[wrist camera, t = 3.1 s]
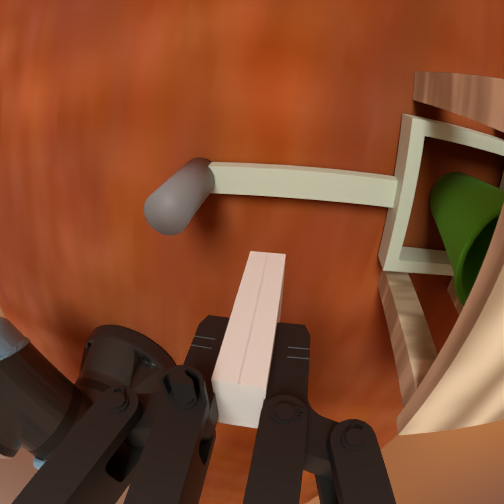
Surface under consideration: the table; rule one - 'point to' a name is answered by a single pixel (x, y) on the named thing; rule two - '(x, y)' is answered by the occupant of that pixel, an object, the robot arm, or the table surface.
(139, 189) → the table surface
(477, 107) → the bridge
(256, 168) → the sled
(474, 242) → the cup
